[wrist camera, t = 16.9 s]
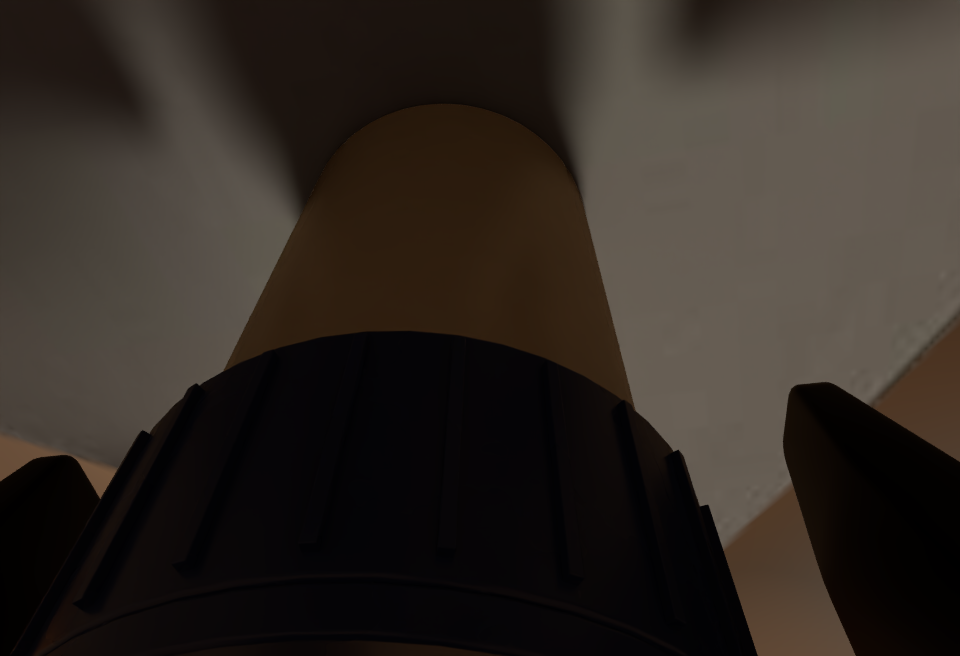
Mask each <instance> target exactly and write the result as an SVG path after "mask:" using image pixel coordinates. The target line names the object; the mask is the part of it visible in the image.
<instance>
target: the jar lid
mask: <svg viewBox="0 0 960 656" xmlns="http://www.w3.org/2000/svg"><path fill="white" fill-rule="evenodd" d="M10 656H758V655H757V652H756V649H755V646H754V643H753V640H752V637H751V634H750V631H749V628H748V625H747V621H746V618H745V615H744V612H743V609H742V606H741V603H740V600H739V597H738V594H737V591H736V588H735V585H734V582H733V579H732V576H731V573H730V569H729V566H728V563H727V560H726V557H725V554H724V551H723V548H722V545H721V542H720V539H719V536H718V533H717V530H716V527H715V524H714V520H713V517H712V514H711V511H710V508H709V505H704V506H700V505H699V502H698V499H697V497H696V494H695V491H694V488H693V485H692V481H691V478H690V475H689V472H688V469H687V465H686V462H685V459H684V456H683V455H682V454H681V452H680V451H679V450H677V451H674V452H673V450H672V449H671V447H670V446H669V445H668V444H667V442H666V441H665V440H664V439H663V438H662V437H661V436H660V435H659V433H658V432H657V431H656V430H655V429H654V428H653V427H652V426H651V424H650V423H649V422H648V421H647V420H645V419H644V418H643V417H642V416H641V415H639V414H638V413H637V412H636V411H635V410H633V407H632V405H631V404H630V403H628V402H627V401H626V400H621V399H620V398H619V397H618V396H616V395H615V394H613V393H611V392H610V391H608V390H607V389H605V388H603V387H602V386H600V385H599V384H597V383H595V382H594V381H592V380H590V379H589V378H587V377H586V376H584V375H582V374H580V373H578V372H575V371H573V370H571V369H569V368H567V367H565V366H562V365H560V364H558V363H556V362H554V361H551V360H549V359H547V358H545V357H542V356H539V355H535V354H532V353H529V352H526V351H523V350H520V349H517V348H514V347H511V346H508V345H505V344H500V343H496V342H491V341H486V340H481V339H476V338H471V337H466V336H461V335H454V334H443V333H432V332H422V331H364V332H357V333H349V334H341V335H333V336H325V337H319V338H315V339H311V340H307V341H303V342H299V343H295V344H291V345H287V346H283V347H279V348H276V349H272V350H269V351H266V352H263V353H262V354H260V355H258V356H255V357H253V358H250V359H247V360H245V361H242V362H240V363H238V364H236V365H234V366H233V367H231V368H229V369H227V370H225V371H223V372H222V373H220V374H218V375H216V376H214V377H213V378H211V379H209V380H207V381H205V382H204V383H202V384H201V385H200V386H199V385H198V384H194V385H193V386H191V387H190V388H188V390H187V391H186V393H185V395H184V397H183V399H181V400H180V401H179V402H177V403H176V404H175V405H174V406H173V407H172V408H171V409H170V410H169V411H168V412H167V414H166V415H165V416H164V417H163V418H162V419H161V420H160V421H159V422H158V423H157V424H156V425H155V426H154V427H153V429H152V430H151V432H150V434H149V433H147V432H145V431H143V430H142V431H141V432H140V433H139V434H138V436H137V437H136V439H135V441H134V442H133V444H132V446H131V448H130V449H129V451H128V453H127V454H126V456H125V458H124V460H123V461H122V463H121V465H120V466H119V468H118V470H117V472H116V473H115V475H114V477H113V478H112V480H111V482H110V483H109V485H108V487H107V489H106V490H105V492H104V494H103V495H102V497H101V499H100V501H99V502H98V504H97V506H96V507H95V509H94V511H93V513H92V514H91V516H90V518H89V519H88V521H87V523H86V525H85V526H84V528H83V530H82V531H81V533H80V535H79V537H78V538H77V540H76V542H75V543H74V545H73V547H72V549H71V550H70V552H69V554H68V555H67V557H66V559H65V561H64V562H63V564H62V566H61V567H60V569H59V571H58V572H57V574H56V576H55V578H54V579H53V581H52V583H51V584H50V586H49V588H48V590H47V591H46V593H45V595H44V596H43V598H42V600H41V602H40V603H39V605H38V607H37V608H36V610H35V612H34V614H33V615H32V617H31V619H30V620H29V622H28V624H27V626H26V627H25V629H24V631H23V632H22V634H21V636H20V638H19V639H18V641H17V643H16V644H15V646H14V648H13V650H12V651H11V653H10Z"/></svg>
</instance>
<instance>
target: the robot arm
mask: <svg viewBox="0 0 960 656" xmlns="http://www.w3.org/2000/svg"><path fill="white" fill-rule="evenodd" d="M783 449H784V456H785V460H786V464H787V467H788V470H789V473H790V477H791V480H792V483H793V486H794V489H795V493H796V496H797V499H798V502H799V506H800V509H801V512H802V515H803V518H804V521H805V525H806V528H807V531H808V535H809V538H810V541H811V544H812V547H813V551H814V554H815V557H816V560H817V563H818V566H819V569H820V572H821V575H822V578H823V581H824V584H825V586H826V589H827V591H828V593H829V596H830V598H831V601H832V603H833V605H834V607H835V610H836V612H837V614H838V616H839V619H840V621H841V623H842V626H843V628H844V630H845V632H846V635H847V637H848V639H849V641H850V644H851V646H852V648H853V650H854V653H855V655H856V656H960V462H959V461H957V460H956V459H954V458H953V457H951V456H949V455H948V454H946V453H945V452H943V451H941V450H940V449H938V448H936V447H935V446H933V445H932V444H930V443H928V442H927V441H925V440H923V439H922V438H920V437H918V436H917V435H915V434H914V433H912V432H911V431H909V430H907V429H906V428H904V427H902V426H901V425H899V424H898V423H896V422H895V421H893V420H891V419H890V418H888V417H886V416H885V415H883V414H882V413H880V412H878V411H877V410H875V409H874V408H872V407H870V406H869V405H867V404H865V403H864V402H862V401H861V400H859V399H857V398H856V397H854V396H853V395H851V394H849V393H848V392H846V391H844V390H843V389H841V388H840V387H838V386H836V385H834V384H832V383H829V382H821V383H810V384H800V385H796V386H794V387H793V388H792V389H791V391H790V393H789V397H788V404H787V412H786V420H785V428H784V436H783ZM99 501H100V498H99V496H98V495H97V493H96V491H95V490H94V488H93V486H92V484H91V483H90V481H89V479H88V478H87V476H86V474H85V473H84V471H83V469H82V468H81V466H80V464H79V463H78V461H77V460H76V459H74V458H73V457H71V456H68V455H58V456H48V457H40V458H36V459H33V460H32V461H30V462H28V463H27V464H25V465H24V466H22V467H21V468H20V469H18V470H16V471H15V472H14V473H12V474H11V475H9V476H8V477H6V478H5V479H3V480H2V481H0V656H10V653H11V651H12V650H13V648H14V646H15V644H16V643H17V641H18V639H19V638H20V636H21V634H22V632H23V631H24V629H25V627H26V626H27V624H28V622H29V620H30V619H31V617H32V615H33V614H34V612H35V610H36V608H37V607H38V605H39V603H40V602H41V600H42V598H43V596H44V595H45V593H46V591H47V590H48V588H49V586H50V584H51V583H52V581H53V579H54V578H55V576H56V574H57V572H58V571H59V569H60V567H61V566H62V564H63V562H64V561H65V559H66V557H67V555H68V554H69V552H70V550H71V549H72V547H73V545H74V543H75V542H76V540H77V538H78V537H79V535H80V533H81V531H82V530H83V528H84V526H85V525H86V523H87V521H88V519H89V518H90V516H91V514H92V513H93V511H94V509H95V507H96V506H97V504H98V502H99Z"/></svg>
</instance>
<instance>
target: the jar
mask: <svg viewBox="0 0 960 656" xmlns="http://www.w3.org/2000/svg"><path fill="white" fill-rule="evenodd" d="M364 331H422V332H432V333H443V334H454V335H461V336H466V337H471V338H476V339H481V340H486V341H491V342H496V343H500V344H505V345H508V346H511V347H514V348H517V349H520V350H523V351H526V352H529V353H532V354H535V355H539V356H542V357H545V358H547V359H549V360H551V361H554V362H556V363H558V364H560V365H562V366H565V367H567V368H569V369H571V370H573V371H575V372H578V373H580V374H582V375H584V376H586V377H587V378H589V379H590V380H592V381H594V382H595V383H597V384H599V385H600V386H602V387H603V388H605V389H607V390H608V391H610V392H611V393H613V394H615V395H616V396H618V397H619V398H620V399H621V400H626V401H627V402H628V403H630V404H631V405H632V407H633V410H635V406H634V402H633V399H632V395H631V391H630V387H629V383H628V379H627V375H626V371H625V367H624V363H623V359H622V355H621V351H620V347H619V343H618V339H617V335H616V332H615V328H614V324H613V320H612V316H611V312H610V308H609V304H608V300H607V296H606V292H605V288H604V284H603V280H602V276H601V272H600V268H599V265H598V261H597V257H596V253H595V249H594V245H593V241H592V237H591V233H590V229H589V225H588V221H587V217H586V213H585V209H584V206H583V202H582V199H581V196H580V192H579V190H578V188H577V186H576V183H575V181H574V179H573V177H572V175H571V174H570V172H569V170H568V169H567V167H566V166H565V164H564V163H563V161H562V160H561V159H560V158H559V156H558V155H557V154H556V153H555V152H554V151H553V150H552V148H551V147H550V146H549V145H547V144H546V143H545V142H544V141H543V140H542V139H541V138H539V137H538V136H537V135H536V134H535V133H533V132H532V131H530V130H529V129H527V128H526V127H524V126H523V125H521V124H520V123H518V122H515V121H513V120H511V119H509V118H507V117H505V116H503V115H501V114H498V113H495V112H492V111H489V110H486V109H483V108H477V107H472V106H467V105H459V104H429V105H420V106H415V107H410V108H405V109H402V110H399V111H396V112H393V113H390V114H387V115H385V116H383V117H381V118H379V119H377V120H375V121H373V122H371V123H369V124H367V125H366V126H364V127H363V128H362V129H360V130H359V131H357V132H356V133H355V134H353V135H352V136H351V137H350V138H349V139H348V140H347V141H345V142H344V143H343V144H342V145H341V146H340V147H339V148H338V150H337V151H336V152H335V153H334V155H333V156H332V157H331V158H330V160H329V161H328V162H327V164H326V166H325V168H324V170H323V171H322V173H321V175H320V177H319V179H318V181H317V183H316V185H315V187H314V189H313V191H312V193H311V195H310V197H309V199H308V201H307V203H306V205H305V207H304V209H303V211H302V213H301V215H300V217H299V219H298V221H297V223H296V225H295V227H294V229H293V231H292V233H291V235H290V237H289V239H288V241H287V243H286V245H285V247H284V249H283V251H282V253H281V255H280V257H279V259H278V261H277V263H276V265H275V267H274V269H273V271H272V273H271V276H270V278H269V280H268V282H267V284H266V286H265V288H264V290H263V292H262V294H261V296H260V298H259V300H258V302H257V304H256V306H255V308H254V310H253V312H252V314H251V316H250V318H249V320H248V322H247V324H246V326H245V328H244V330H243V332H242V334H241V336H240V338H239V340H238V342H237V344H236V346H235V348H234V350H233V352H232V354H231V356H230V358H229V360H228V362H227V364H226V366H225V368H224V370H223V371H225V370H227V369H229V368H231V367H233V366H234V365H236V364H238V363H240V362H242V361H245V360H247V359H250V358H253V357H255V356H258V355H260V354H262V353H263V352H266V351H269V350H272V349H276V348H279V347H283V346H287V345H291V344H295V343H299V342H303V341H307V340H311V339H315V338H319V337H325V336H333V335H341V334H349V333H357V332H364ZM635 411H636V410H635Z"/></svg>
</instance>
